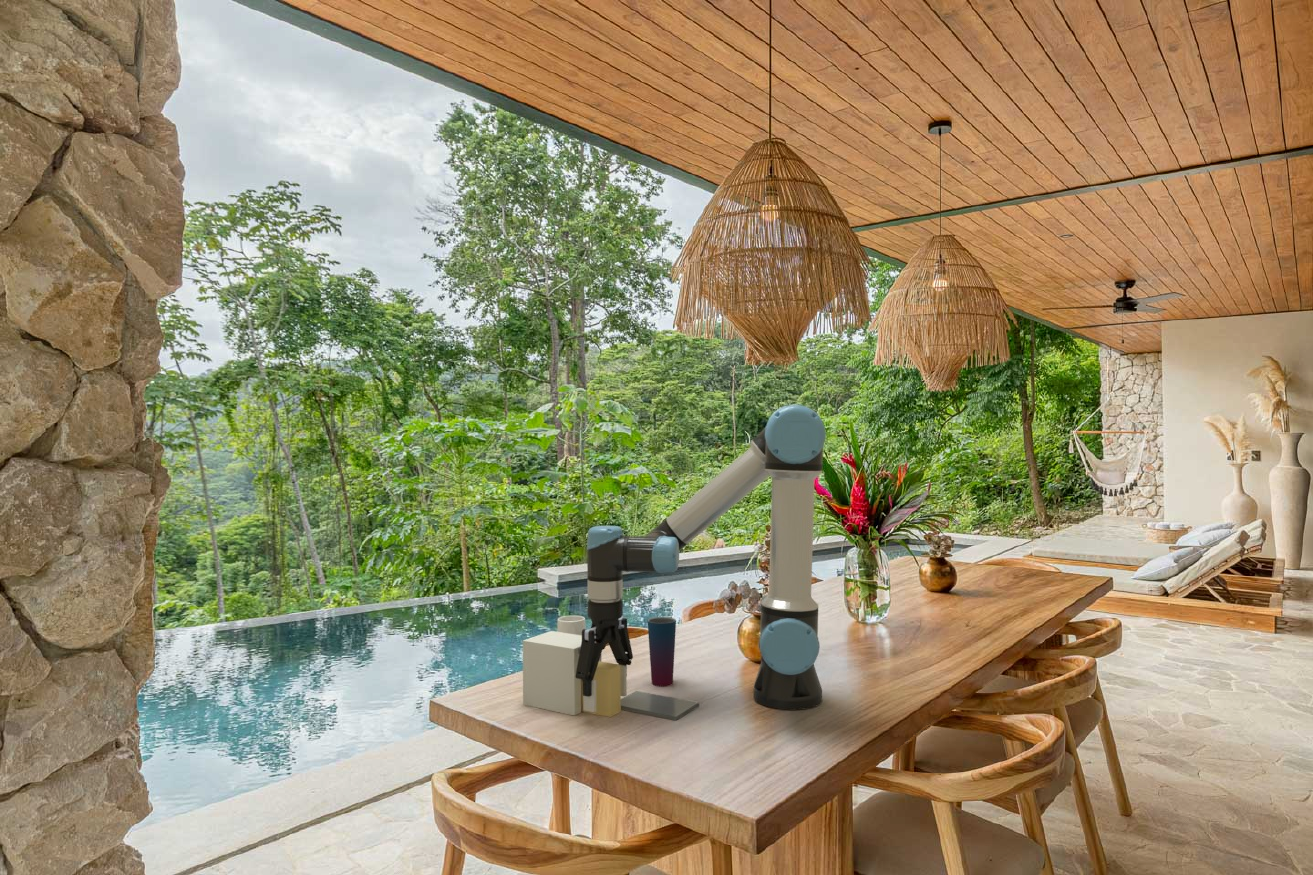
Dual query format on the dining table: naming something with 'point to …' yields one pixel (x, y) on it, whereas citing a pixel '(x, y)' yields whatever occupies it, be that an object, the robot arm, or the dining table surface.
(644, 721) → the dining table surface
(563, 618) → the drinking glass
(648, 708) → the slate pad
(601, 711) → the yellow rectangular block
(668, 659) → the cup
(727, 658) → the dining table surface
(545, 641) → the box
